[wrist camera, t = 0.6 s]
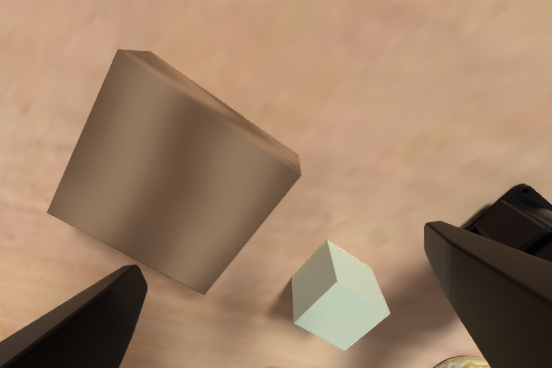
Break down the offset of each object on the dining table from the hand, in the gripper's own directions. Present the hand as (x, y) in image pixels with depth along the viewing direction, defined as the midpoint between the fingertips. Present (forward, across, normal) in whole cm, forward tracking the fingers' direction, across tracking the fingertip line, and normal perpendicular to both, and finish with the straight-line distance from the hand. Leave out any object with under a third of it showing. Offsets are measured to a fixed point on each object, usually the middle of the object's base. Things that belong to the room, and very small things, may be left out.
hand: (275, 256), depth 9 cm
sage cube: (+13, -2, +12) cm, 18 cm away
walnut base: (+13, +8, +1) cm, 15 cm away
